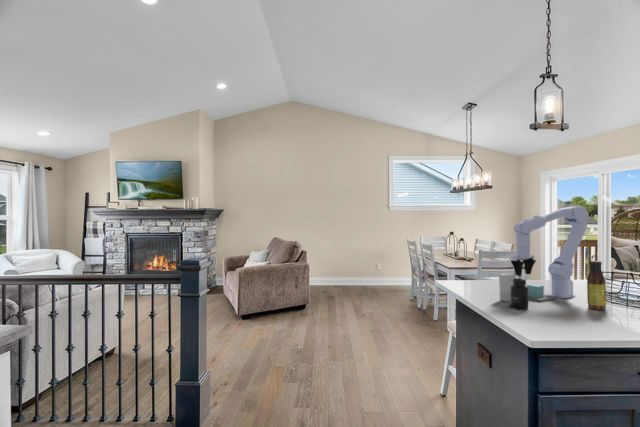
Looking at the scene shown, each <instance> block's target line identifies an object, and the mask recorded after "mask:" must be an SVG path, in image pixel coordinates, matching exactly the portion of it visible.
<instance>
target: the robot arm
mask: <svg viewBox="0 0 640 427" xmlns="http://www.w3.org/2000/svg"><path fill="white" fill-rule="evenodd" d="M589 215H590V214H589V212H588V210H587V209H586V207H584V206H581V205H578V206H571V205H570V206H565V207H561V208H559V209H557V210H554V211H552V212H550V213H548V214H545V215H539V214H538V215H537V214H535V215H533V217H530V218H527V219H524V221H518V222H517V223H516V224H515V225H514V227H513V229H514V232H515V234H516V236H515V237H516V254H514V255H513V256H511V260H510V263H511V265H512V267H513V269H514V272H515V275H516V276H518V277H521V276H522V274H523V273H522V272H523V267H524V272H525V274H526V275H531V273H532V270H533V267H534V265H535V264H536V262H537V260H536V259H535V254H531V233H533V231H535V230H536V231H537V230H538V229H541V228H543V227H545V226H546V224H547V223H548V222H552V221H555V220H557V219H561V218H564V219H565V221H567V222H568V223H569V224H570V226H571V229H570V232H569V233H568V236H567V238H566V240H565V243H564V245H563V247H562V248H561V251H560V254H558V255H559V256H558V257H556V258H554V259H553V262H552V263H550V264H549V266H548V272H549V274H550V275H551V276H550V277H551V293H548V294H547V296H553V297H555V298H559V299H560V298H561V299H568V298H574V297H576V295H574V282H573V280H572V279H571V277H572V276H573V273H574V267H575V265H574V263H573V259H574V257H575V255H576V253H577V250H578V248H579V246H580V244H581V242H582V240H583V237H584V235H585V233H586V231H587V228H588V218H589Z"/></svg>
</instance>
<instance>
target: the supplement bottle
mask: <svg viewBox="0 0 640 427" xmlns="http://www.w3.org/2000/svg"><path fill="white" fill-rule="evenodd" d="M513 284H514V285H512V286H511V288H510V304H509V306H510V308H512V309H515V310H520V309H521V310H523V311H524V310H528V309H529V300H528V298H529V289H528V287H527V280H526V279H522V278H516V279H513Z"/></svg>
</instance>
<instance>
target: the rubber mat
mask: <svg viewBox="0 0 640 427" xmlns="http://www.w3.org/2000/svg"><path fill="white" fill-rule="evenodd" d="M553 300H556V297H554V296H548V294H544V296H543V297H538V298H536V297H531V296H529V298H528V301H531V302H532V301H533V302H538V303H543V302H549V301H553Z"/></svg>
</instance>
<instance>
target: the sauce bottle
mask: <svg viewBox="0 0 640 427" xmlns="http://www.w3.org/2000/svg"><path fill="white" fill-rule="evenodd" d="M602 263H603V262H602V261H600V260H590V261H589V268H590V269H589V271H590V272H589V274H588V275H587V277H586V278H587V280H586V281H587V283H586V292H587V295H586V296H587V298H586V299H587V307H588V308H589V309H591V310H597V311H604V310H606V308H607V292H606V287H607V286H606V279H605V277H604V274H603V272H602V265H603V264H602Z"/></svg>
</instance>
